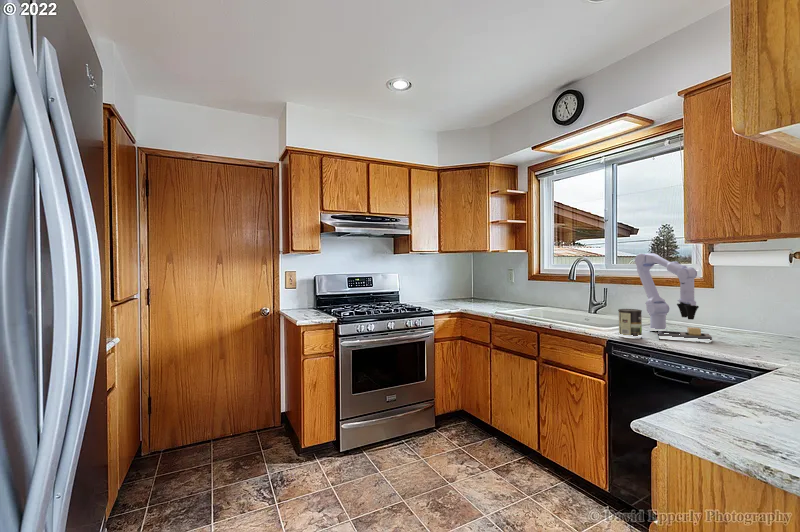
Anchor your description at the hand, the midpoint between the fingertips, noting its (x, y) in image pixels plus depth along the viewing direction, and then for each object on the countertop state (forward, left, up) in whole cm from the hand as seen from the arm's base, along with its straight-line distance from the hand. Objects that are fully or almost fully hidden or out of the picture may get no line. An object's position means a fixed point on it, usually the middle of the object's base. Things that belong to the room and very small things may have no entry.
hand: (687, 318), depth 195 cm
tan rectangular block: (+10, +2, -10) cm, 14 cm away
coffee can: (+14, -25, -10) cm, 30 cm away
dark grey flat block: (+10, -3, -9) cm, 14 cm away
